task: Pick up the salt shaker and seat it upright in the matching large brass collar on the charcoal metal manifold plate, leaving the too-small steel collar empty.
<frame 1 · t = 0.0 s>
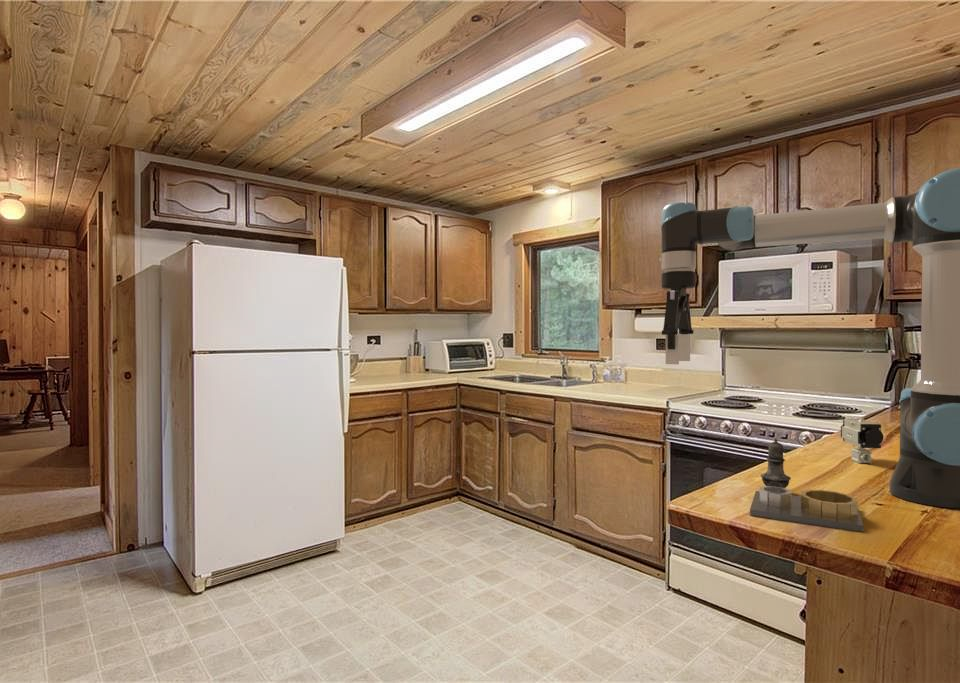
hand: (678, 362, 131), 28 cm above the countertop, fingers open, 13 cm apart
pneumatic valve: (859, 462, 149), on the countertop
salt shaker: (775, 493, 122), on the countertop
manifold plate: (804, 512, 109), on the countertop
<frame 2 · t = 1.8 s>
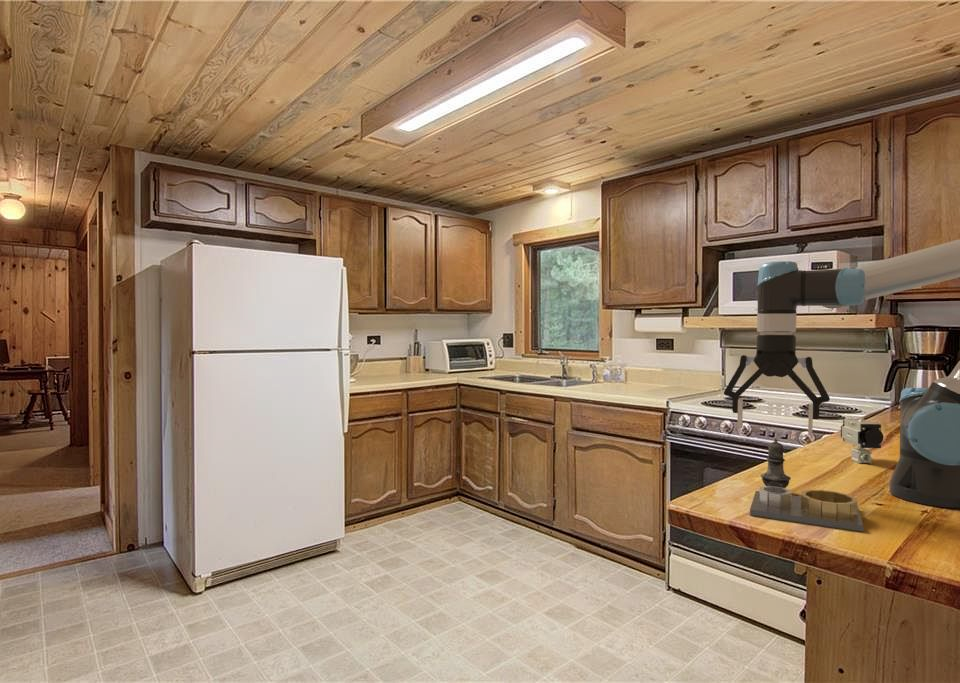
hand: (774, 431, 122), 13 cm above the countertop, fingers open, 13 cm apart
nothing on the countertop moved.
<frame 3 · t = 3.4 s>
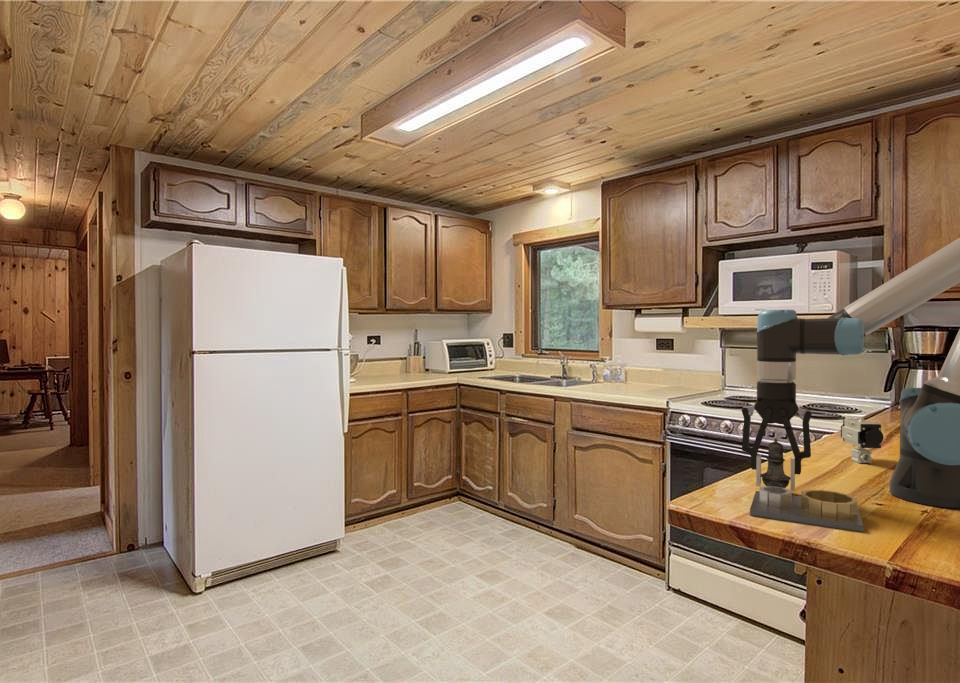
hand: (775, 486, 122), 1 cm above the countertop, fingers closed on salt shaker, 6 cm apart
salt shaker: (775, 493, 122), on the countertop, touching gripper
everything else where it was.
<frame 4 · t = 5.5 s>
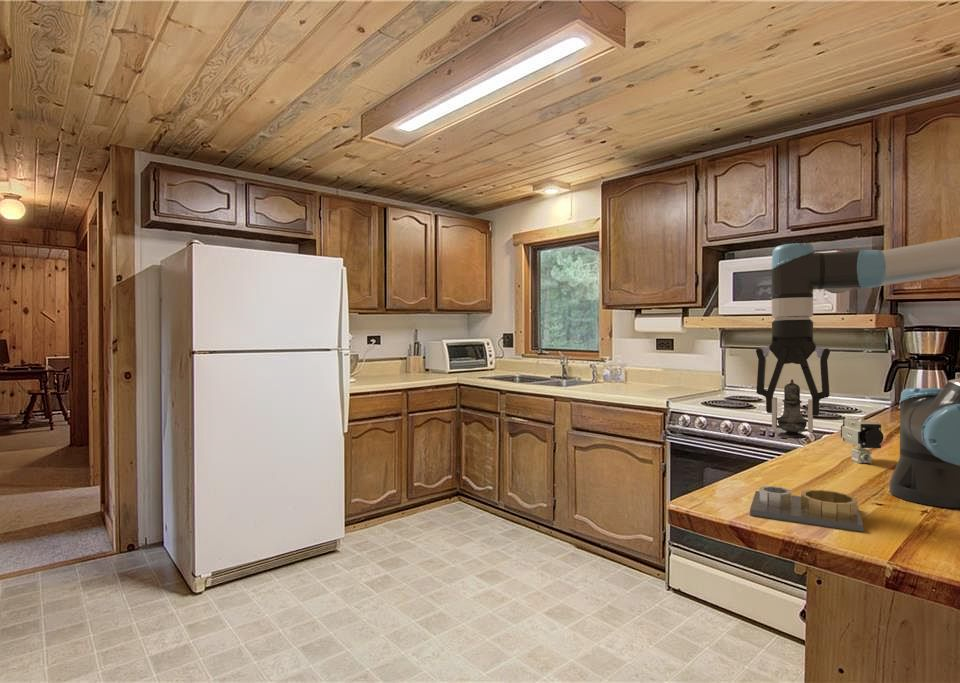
hand: (792, 429, 117), 15 cm above the countertop, fingers closed on salt shaker, 6 cm apart
salt shaker: (792, 437, 117), point 13 cm above the countertop, touching gripper
everything else where it was.
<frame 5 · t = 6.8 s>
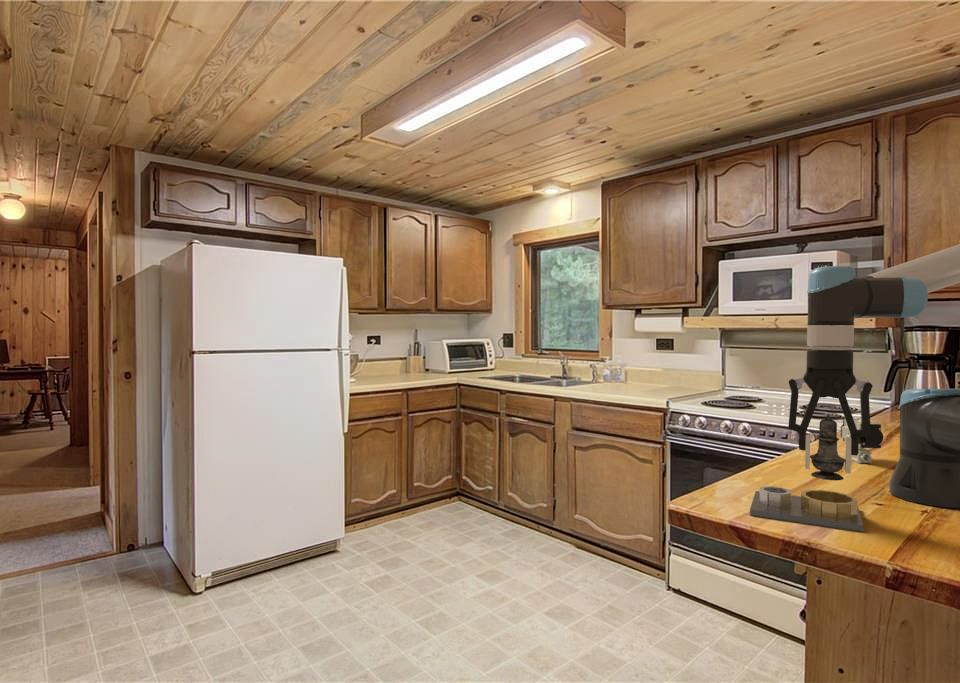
hand: (827, 469, 107), 9 cm above the countertop, fingers closed on salt shaker, 6 cm apart
salt shaker: (827, 477, 107), point 7 cm above the countertop, touching gripper
everything else where it was.
when the fingers open (4 cm above the countertop, at t = 7.9 s): salt shaker drops 1 cm, resting on manifold plate.
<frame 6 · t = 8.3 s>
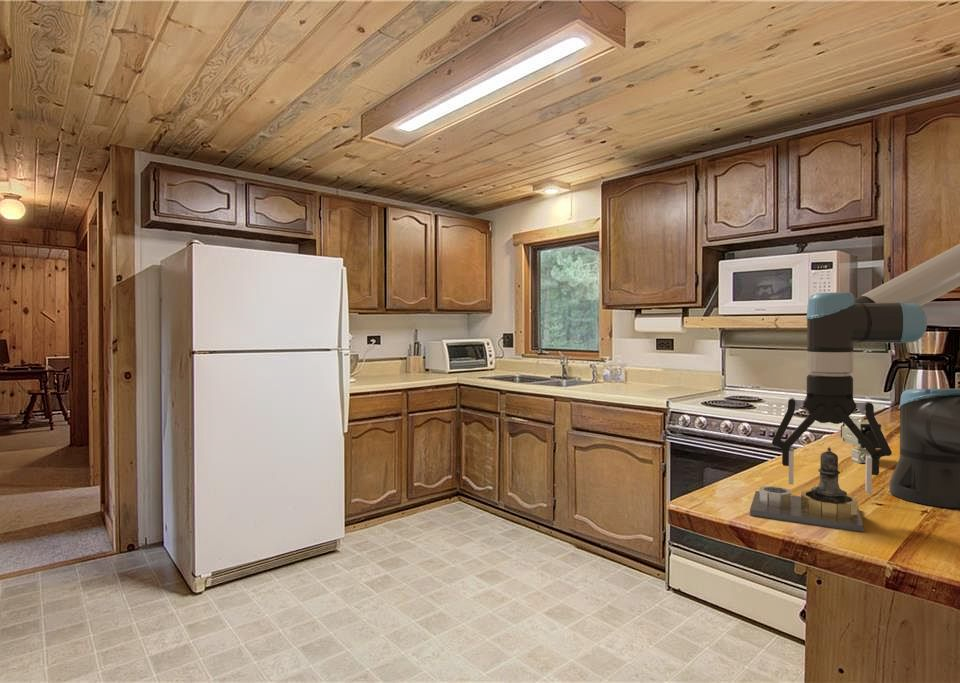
hand: (828, 487, 107), 6 cm above the countertop, fingers open, 12 cm apart
salt shaker: (828, 510, 107), point 1 cm above the countertop, touching manifold plate
everything else where it was.
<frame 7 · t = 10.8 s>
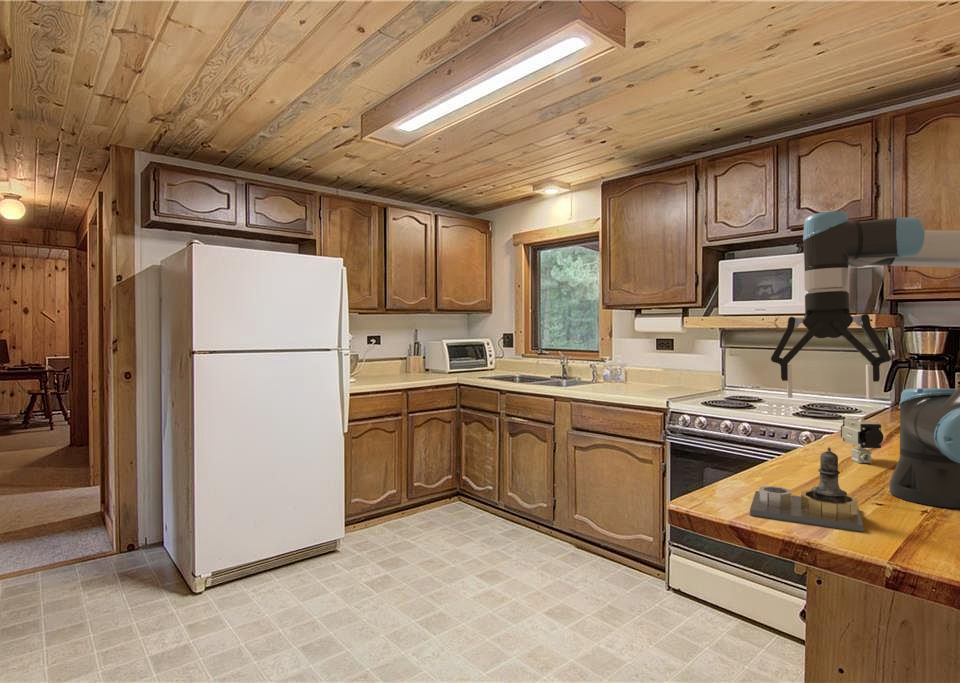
hand: (828, 397, 112), 22 cm above the countertop, fingers open, 13 cm apart
nothing on the countertop moved.
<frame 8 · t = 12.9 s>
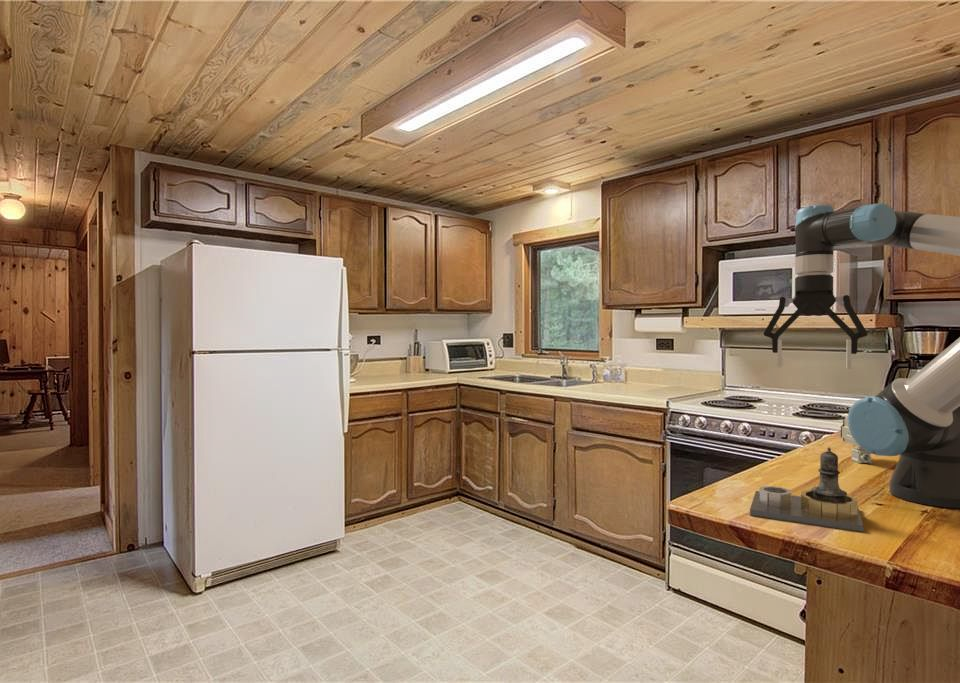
hand: (813, 368, 128), 27 cm above the countertop, fingers open, 13 cm apart
nothing on the countertop moved.
at the end: salt shaker 0.0 cm from the target spot on the manifold plate, point 1.0 cm above the manifold plate's base; salt shaker tilted 0°; the gripper is holding nothing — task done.
